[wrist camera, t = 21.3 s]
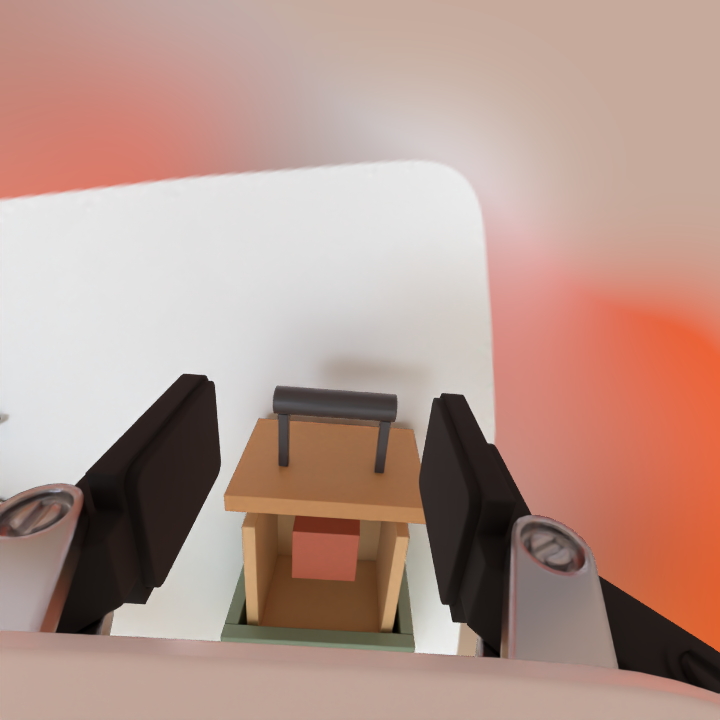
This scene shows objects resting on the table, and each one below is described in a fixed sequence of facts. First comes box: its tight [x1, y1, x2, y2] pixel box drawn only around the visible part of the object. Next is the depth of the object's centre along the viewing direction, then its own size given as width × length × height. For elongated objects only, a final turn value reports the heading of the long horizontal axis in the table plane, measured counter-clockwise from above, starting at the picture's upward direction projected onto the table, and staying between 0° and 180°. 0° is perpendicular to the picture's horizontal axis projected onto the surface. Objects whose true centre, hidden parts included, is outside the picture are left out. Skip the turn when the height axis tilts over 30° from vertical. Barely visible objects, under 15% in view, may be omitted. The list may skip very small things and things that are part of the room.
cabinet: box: [221, 564, 415, 653], centre depth 33 cm, size 15×13×10 cm
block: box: [292, 515, 360, 581], centre depth 28 cm, size 4×4×5 cm
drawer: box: [224, 386, 426, 633], centre depth 27 cm, size 19×12×8 cm, turn 175°
